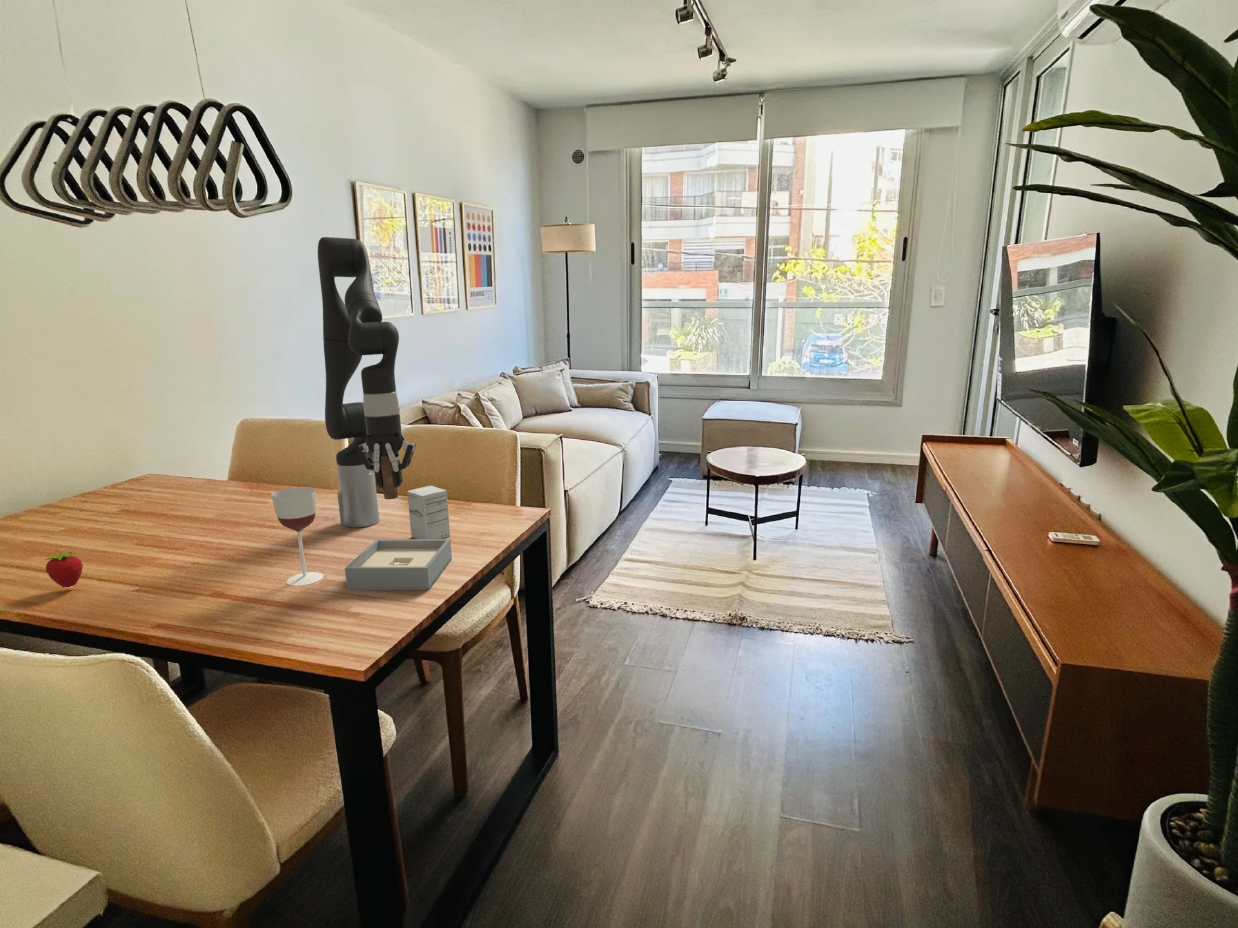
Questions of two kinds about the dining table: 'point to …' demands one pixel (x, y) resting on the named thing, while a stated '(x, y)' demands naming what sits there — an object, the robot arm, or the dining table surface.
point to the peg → (388, 478)
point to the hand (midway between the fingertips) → (390, 486)
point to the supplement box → (428, 513)
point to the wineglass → (297, 522)
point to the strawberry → (64, 569)
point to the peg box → (382, 574)
